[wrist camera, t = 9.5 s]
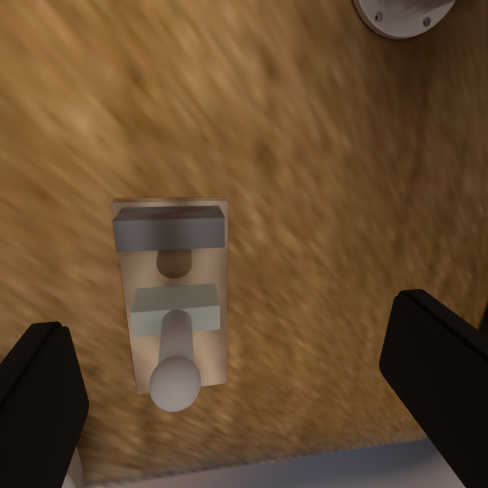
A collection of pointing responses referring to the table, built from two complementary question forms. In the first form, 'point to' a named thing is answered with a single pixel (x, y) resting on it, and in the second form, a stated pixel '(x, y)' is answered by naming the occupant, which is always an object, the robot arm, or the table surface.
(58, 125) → the table surface
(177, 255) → the walnut
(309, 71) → the table surface
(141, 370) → the base
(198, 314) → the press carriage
